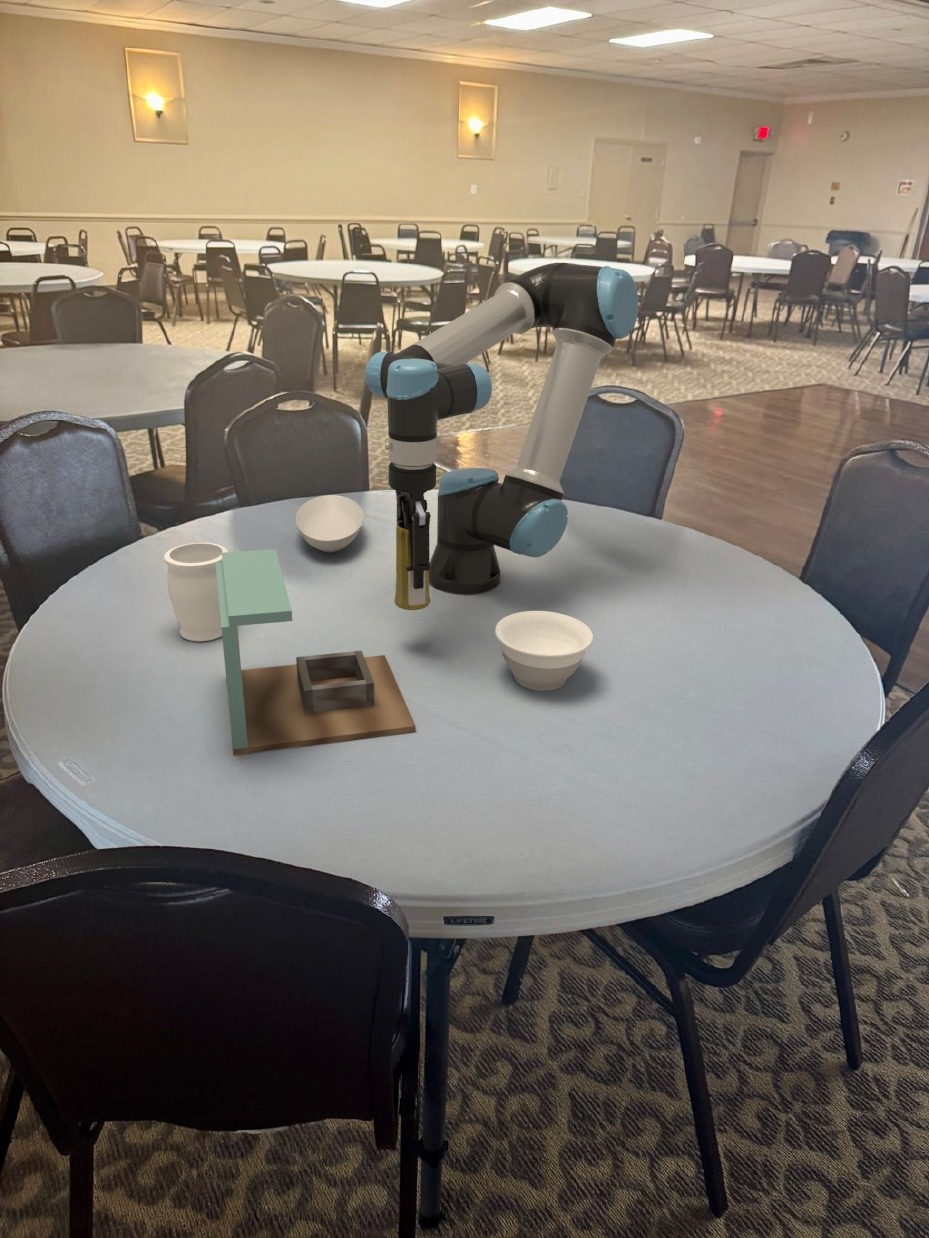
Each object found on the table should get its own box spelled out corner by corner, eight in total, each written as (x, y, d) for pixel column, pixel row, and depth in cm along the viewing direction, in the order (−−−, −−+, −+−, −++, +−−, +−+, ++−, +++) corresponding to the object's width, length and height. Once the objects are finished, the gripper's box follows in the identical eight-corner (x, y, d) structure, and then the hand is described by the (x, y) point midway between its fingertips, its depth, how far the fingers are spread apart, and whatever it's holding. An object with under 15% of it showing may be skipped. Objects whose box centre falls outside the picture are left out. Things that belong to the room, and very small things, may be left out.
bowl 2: (523, 711, 131) (527, 663, 127) (475, 664, 143) (477, 619, 139) (607, 690, 137) (613, 644, 134) (553, 647, 150) (558, 604, 146)
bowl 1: (364, 567, 179) (364, 540, 176) (292, 567, 177) (291, 540, 174) (363, 519, 205) (363, 495, 203) (301, 519, 203) (300, 494, 201)
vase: (416, 614, 140) (417, 533, 133) (387, 604, 142) (385, 525, 136) (437, 600, 144) (438, 522, 138) (407, 591, 147) (407, 514, 141)
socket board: (384, 660, 143) (384, 634, 141) (415, 731, 124) (415, 702, 122) (226, 676, 136) (223, 649, 134) (233, 755, 117) (230, 725, 115)
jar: (218, 649, 144) (210, 568, 137) (162, 641, 146) (151, 560, 139) (244, 622, 153) (238, 545, 147) (192, 615, 155) (183, 538, 148)
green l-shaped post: (282, 665, 138) (275, 549, 129) (298, 740, 119) (291, 610, 110) (225, 671, 135) (214, 553, 126) (233, 749, 117) (220, 616, 108)
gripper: (377, 447, 139) (379, 575, 150) (402, 482, 123) (403, 622, 134) (421, 445, 141) (420, 571, 152) (451, 479, 125) (448, 617, 136)
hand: (412, 595), depth 143 cm, fingers closed on vase, 6 cm apart
